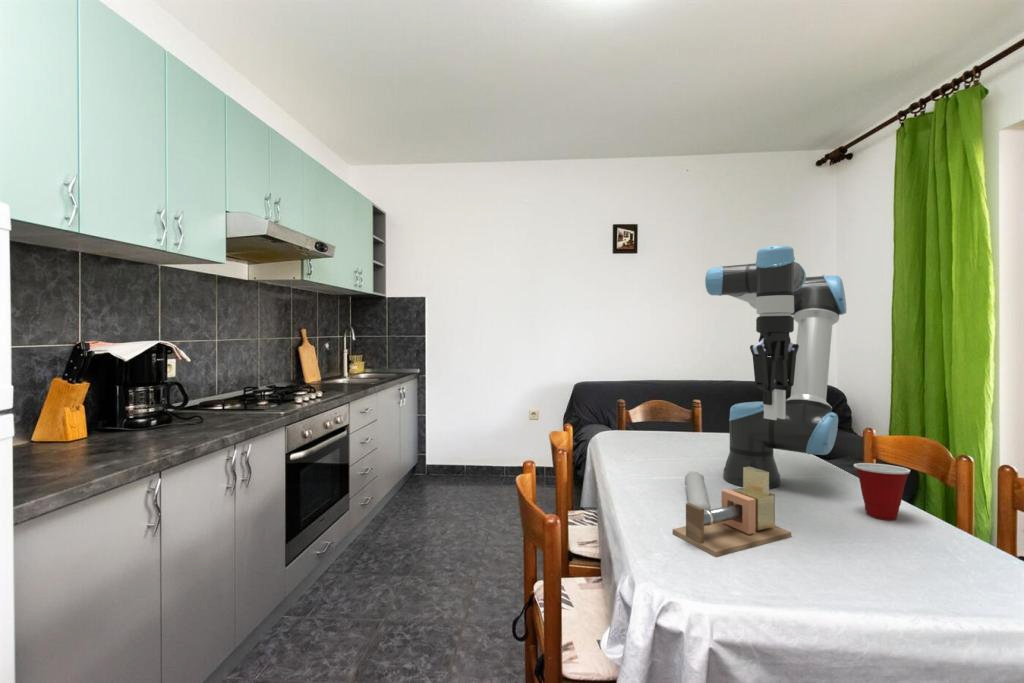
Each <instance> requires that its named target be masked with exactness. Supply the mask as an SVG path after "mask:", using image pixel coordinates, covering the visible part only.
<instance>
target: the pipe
mask: <svg viewBox="0 0 1024 683" xmlns="http://www.w3.org/2000/svg"><path fill="white" fill-rule="evenodd" d="M741 517H742V505H740V504H735V505H730V506H726V507H722V506H720V507H717V508H712V509H710V510H704V526H706V525H707V526H708V525H712V524H715V523H719V522H723V521H728V520H732V519H737V518H741Z"/></svg>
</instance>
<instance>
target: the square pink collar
mask: <svg viewBox="0 0 1024 683" xmlns="http://www.w3.org/2000/svg"><path fill="white" fill-rule="evenodd" d="M732 490H733V489H729V488H726V489H722V490H721V507H726V506H730V505H734V503H737V504H740V505H742V519H740V518H737V519H732V520H728V521H723V523H725V524H727V525H729V526H731V527H734V528H736V529H738V530H740V531H743V532H745V533H747V534H752V533H755V515H756V499H754V498H751V497H748V496H745V495H743V494H740V493H737V492H734V491H732Z"/></svg>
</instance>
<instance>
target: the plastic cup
mask: <svg viewBox="0 0 1024 683" xmlns="http://www.w3.org/2000/svg"><path fill="white" fill-rule="evenodd" d="M853 468H854V469H855V471H856V473H857V477H858V479H859V484H860V490H861V495H862V499H863V503H864V504H863V505H864V508H865V512H866V514H867V515H868V516H869V517H871V518H875V519H877V520H882V521H896V520H897V518H898V515H899V511H900V506H901V504H902V499H903V495H904V494H903V493H904V489H905V484H906V482H907V478H908V476H909V475H910V473H911V469H909V468H906V467H903V466H897V465H893V464H892V465H891V464H885V463H871V462H858V463H854V464H853Z"/></svg>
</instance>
